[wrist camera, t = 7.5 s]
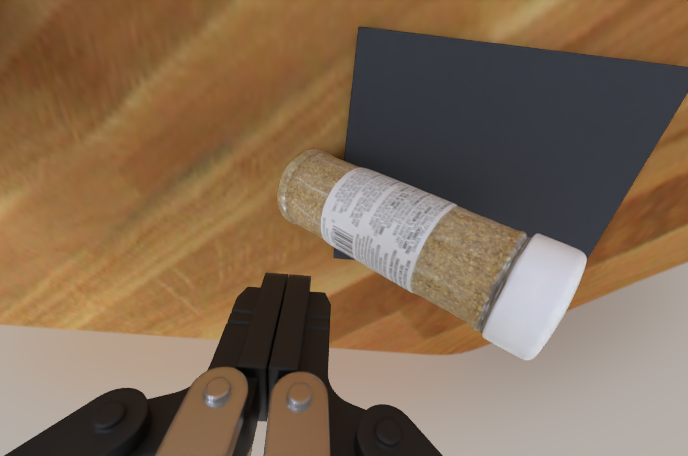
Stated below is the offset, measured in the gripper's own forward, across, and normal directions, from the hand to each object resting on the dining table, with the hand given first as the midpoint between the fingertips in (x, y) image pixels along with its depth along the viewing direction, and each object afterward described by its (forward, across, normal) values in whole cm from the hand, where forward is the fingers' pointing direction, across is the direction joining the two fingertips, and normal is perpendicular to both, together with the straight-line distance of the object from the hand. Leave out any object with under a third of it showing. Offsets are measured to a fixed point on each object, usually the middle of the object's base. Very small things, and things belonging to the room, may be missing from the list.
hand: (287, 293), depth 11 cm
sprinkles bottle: (+9, 0, 0) cm, 9 cm away
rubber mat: (+11, -11, -1) cm, 15 cm away
